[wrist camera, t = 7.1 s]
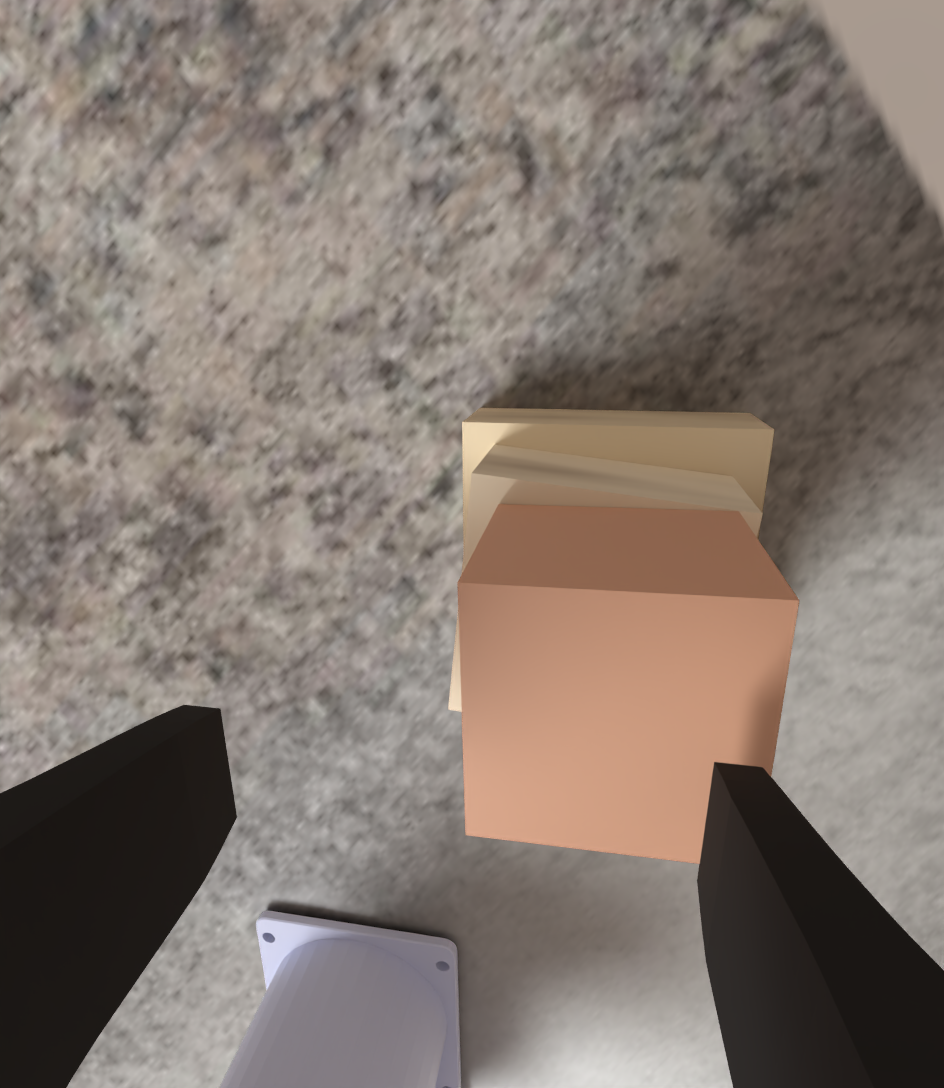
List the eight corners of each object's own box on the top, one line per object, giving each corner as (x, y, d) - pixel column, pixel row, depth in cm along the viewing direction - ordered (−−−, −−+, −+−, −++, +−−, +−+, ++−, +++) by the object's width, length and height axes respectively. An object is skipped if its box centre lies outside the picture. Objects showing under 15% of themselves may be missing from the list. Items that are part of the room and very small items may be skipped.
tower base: (714, 647, 20) (734, 703, 17) (483, 629, 21) (465, 679, 18) (745, 410, 17) (774, 429, 14) (483, 405, 18) (462, 421, 16)
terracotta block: (714, 718, 14) (756, 870, 10) (500, 699, 14) (465, 835, 11) (738, 511, 12) (799, 600, 8) (498, 504, 13) (457, 582, 9)
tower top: (682, 683, 17) (698, 757, 14) (472, 646, 18) (448, 709, 15) (732, 476, 15) (762, 514, 12) (494, 444, 16) (471, 472, 13)
